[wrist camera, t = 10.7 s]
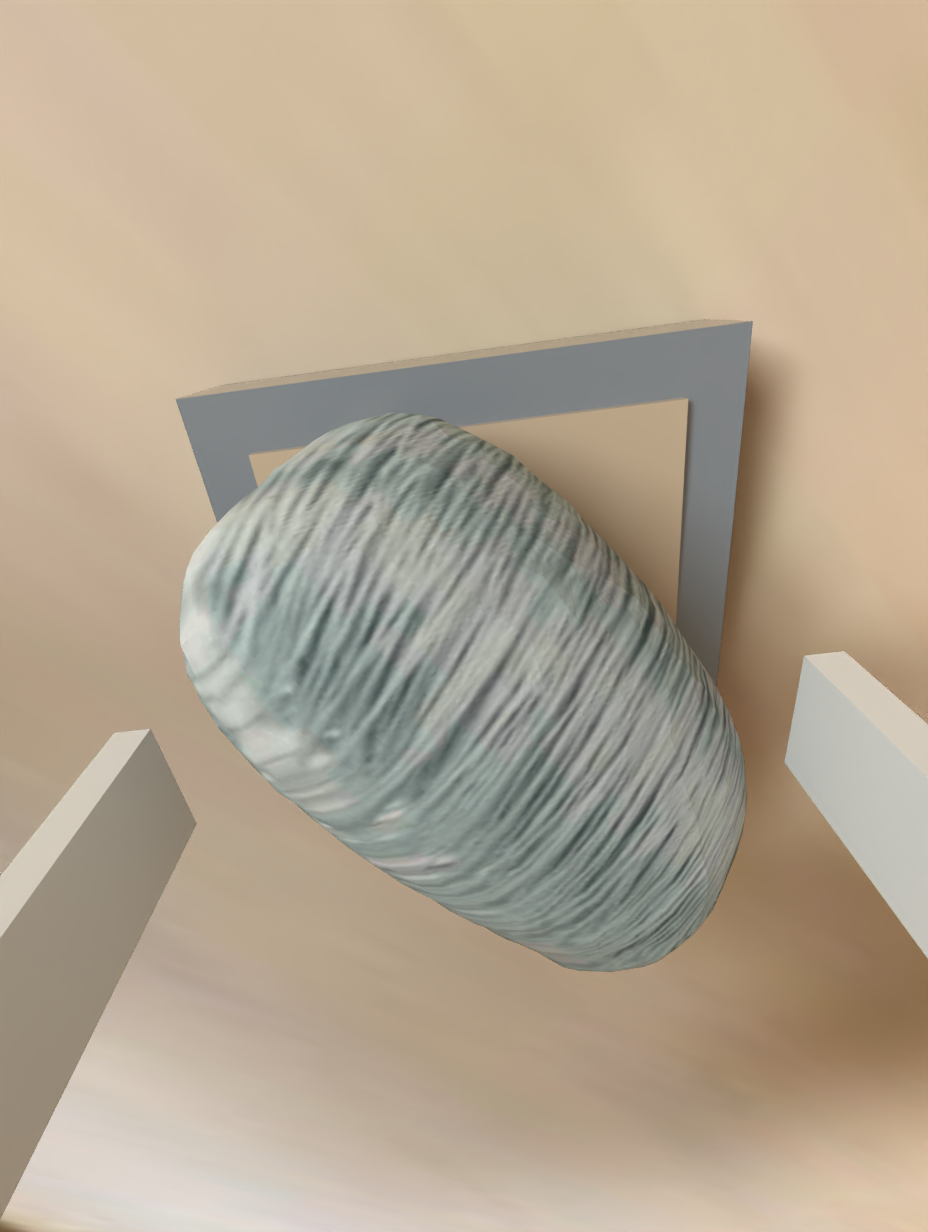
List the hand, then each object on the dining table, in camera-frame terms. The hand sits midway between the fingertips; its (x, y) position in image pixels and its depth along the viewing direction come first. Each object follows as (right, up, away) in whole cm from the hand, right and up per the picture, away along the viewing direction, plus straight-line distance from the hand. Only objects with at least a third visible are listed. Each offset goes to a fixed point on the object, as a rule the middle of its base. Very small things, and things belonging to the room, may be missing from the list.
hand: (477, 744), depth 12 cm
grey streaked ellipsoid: (0, +3, +5) cm, 6 cm away
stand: (0, +4, +8) cm, 9 cm away
